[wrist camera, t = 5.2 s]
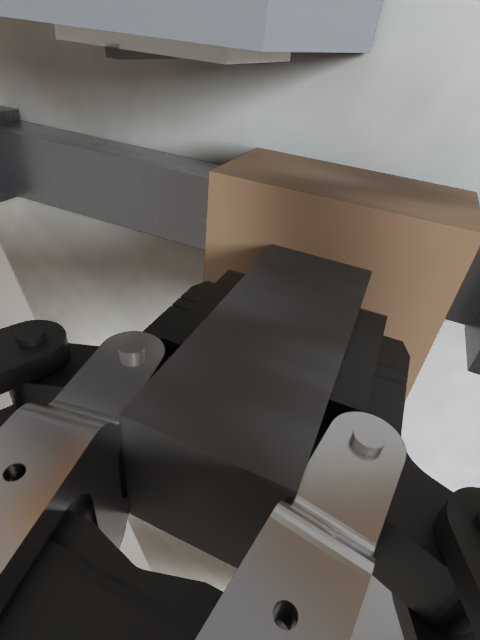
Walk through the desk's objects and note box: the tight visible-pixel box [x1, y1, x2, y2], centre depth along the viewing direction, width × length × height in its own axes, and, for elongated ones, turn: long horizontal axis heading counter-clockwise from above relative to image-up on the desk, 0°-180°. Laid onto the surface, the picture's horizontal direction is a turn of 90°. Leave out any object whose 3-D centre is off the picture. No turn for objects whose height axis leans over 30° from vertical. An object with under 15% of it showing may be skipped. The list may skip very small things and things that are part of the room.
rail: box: [0, 106, 480, 374], centre depth 16 cm, size 24×4×4 cm, turn 84°
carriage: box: [119, 148, 480, 568], centre depth 11 cm, size 7×6×12 cm
